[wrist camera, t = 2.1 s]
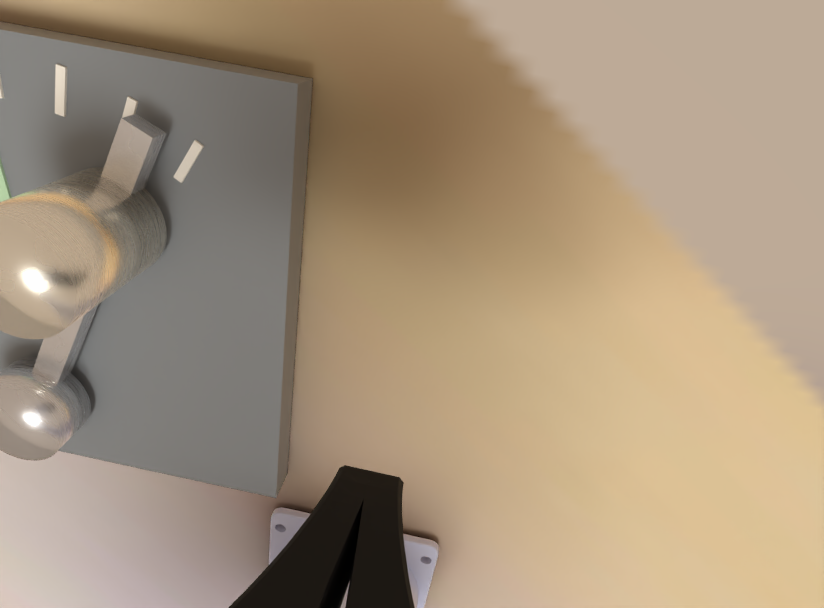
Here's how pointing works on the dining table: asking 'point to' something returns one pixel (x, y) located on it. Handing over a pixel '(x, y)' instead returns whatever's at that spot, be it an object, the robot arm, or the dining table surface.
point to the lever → (70, 280)
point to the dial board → (176, 249)
